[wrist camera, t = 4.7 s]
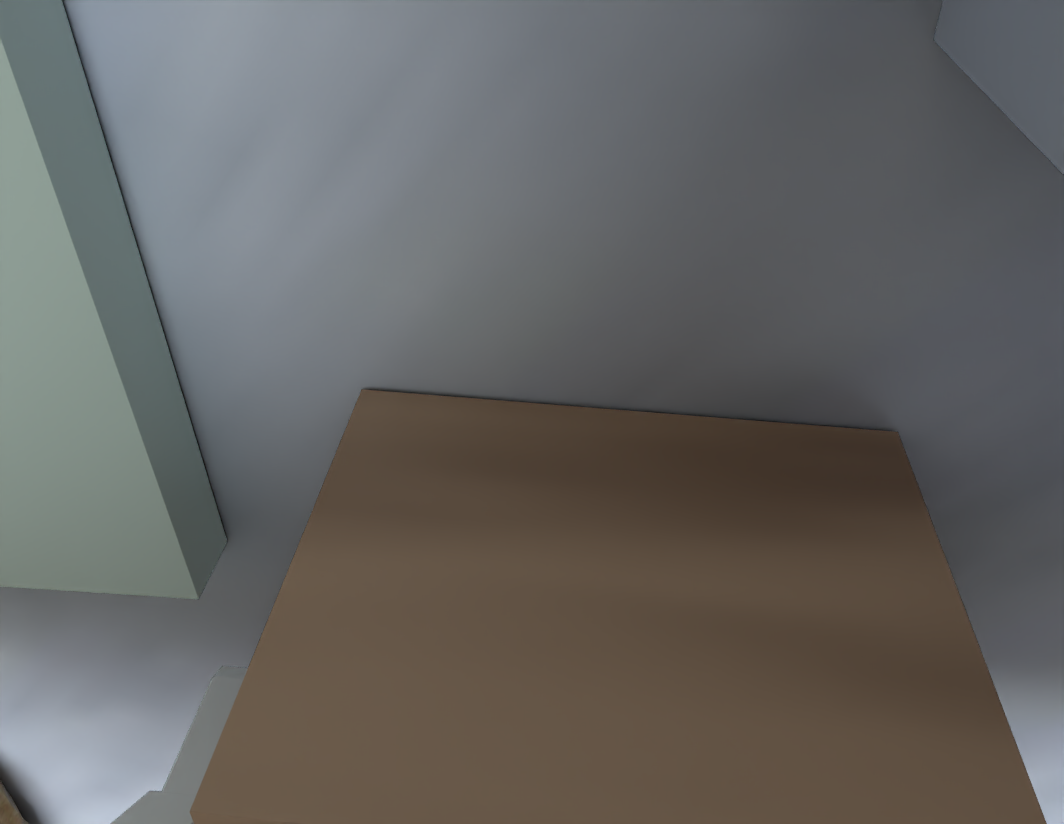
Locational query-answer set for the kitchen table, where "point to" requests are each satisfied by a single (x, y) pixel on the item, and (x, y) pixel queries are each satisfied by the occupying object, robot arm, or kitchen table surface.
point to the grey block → (1013, 61)
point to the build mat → (84, 352)
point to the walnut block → (614, 633)
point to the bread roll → (9, 809)
